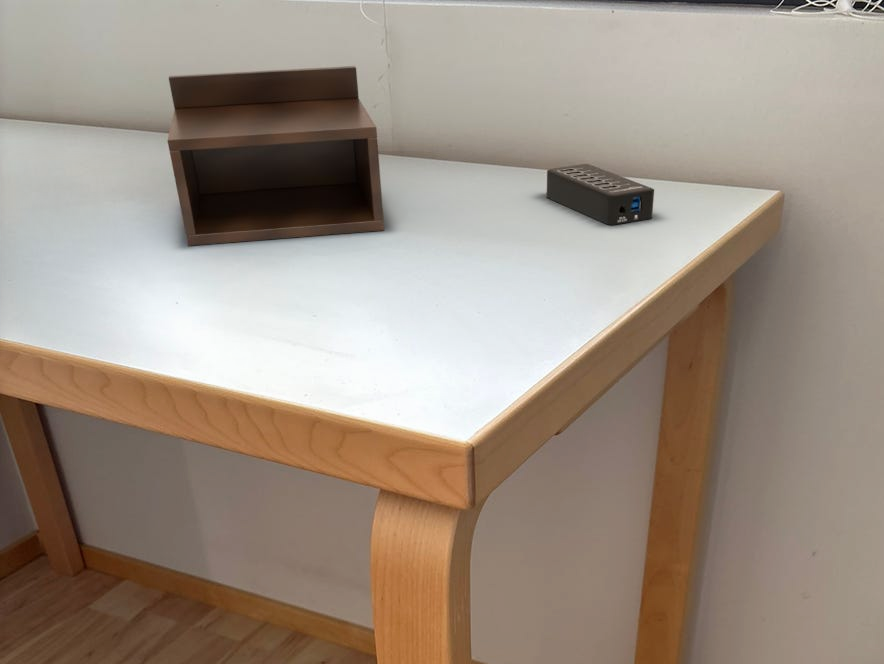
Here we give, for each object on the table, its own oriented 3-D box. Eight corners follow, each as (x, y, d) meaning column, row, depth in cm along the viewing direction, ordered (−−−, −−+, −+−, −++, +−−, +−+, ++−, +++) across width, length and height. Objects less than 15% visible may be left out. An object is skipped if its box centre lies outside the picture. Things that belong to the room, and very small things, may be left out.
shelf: (188, 245, 80) (160, 104, 74) (192, 202, 91) (168, 75, 84) (384, 230, 82) (373, 91, 76) (365, 189, 93) (355, 65, 87)
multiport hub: (586, 190, 91) (587, 162, 90) (654, 218, 83) (656, 188, 82) (544, 196, 90) (545, 169, 88) (609, 225, 82) (611, 196, 80)
